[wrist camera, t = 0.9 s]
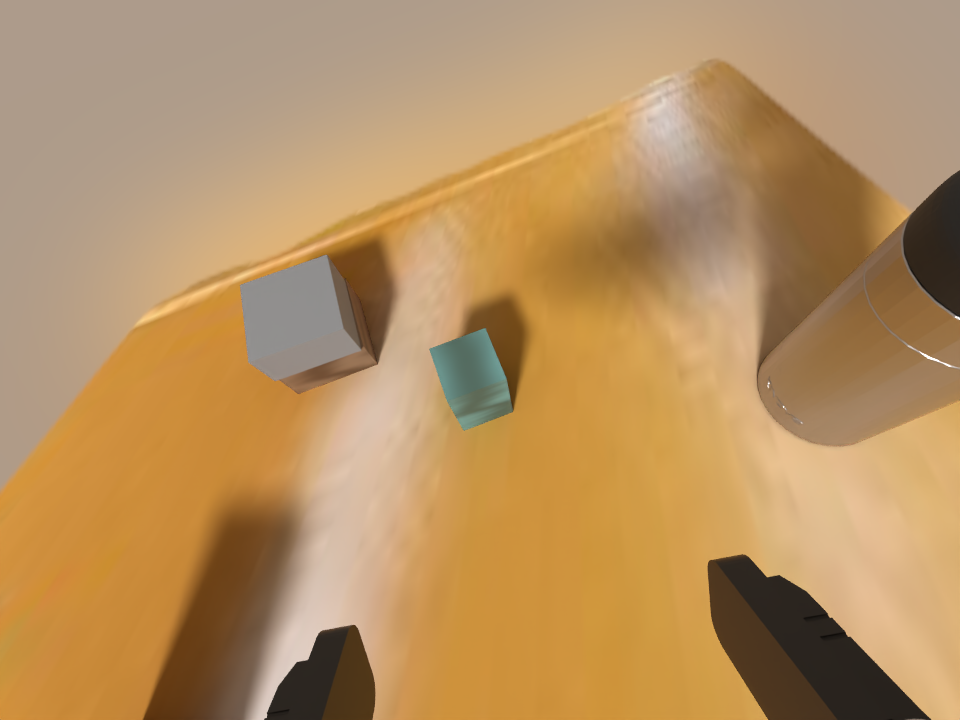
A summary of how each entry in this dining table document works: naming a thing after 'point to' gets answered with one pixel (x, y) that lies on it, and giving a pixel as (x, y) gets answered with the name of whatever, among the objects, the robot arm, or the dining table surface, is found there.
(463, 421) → the teal block
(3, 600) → the dining table surface
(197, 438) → the dining table surface
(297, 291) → the grey block
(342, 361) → the walnut block
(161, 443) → the dining table surface
